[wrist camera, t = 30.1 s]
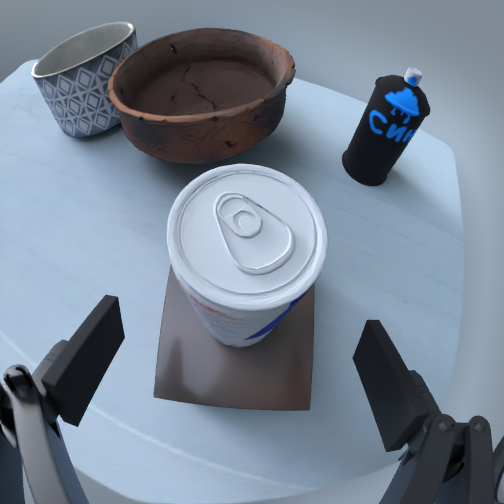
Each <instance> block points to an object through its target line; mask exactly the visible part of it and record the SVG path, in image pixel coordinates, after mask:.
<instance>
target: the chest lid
mask: <svg viewBox="0 0 504 504" xmlns="http://www.w3.org/2000/svg"><path fill="white" fill-rule="evenodd" d="M313 338H314V283H313V285H312V286H311V288H310V289H309V291H308V292H307V293H306V294H305V295H304V297H303V298H302V299H301V300H300V301H299V302H298V303H297V304H296V305H295V306H294V307H293V308H292V309H291V310H290V311H289V312H288V313H287V314H286V315H285V317H284V318H283V319H282V320H281V321H280V322H279V323H278V324H277V325H276V326H275V327H274V328H273V329H272V330H271V331H270V332H269V333H268V334H267V335H266V336H265V337H264V338H263V339H262V340H261V341H259V342H258V343H256V344H254V345H251V346H248V347H242V348H236V347H230V346H227V345H225V344H223V343H221V342H219V341H218V340H216V339H215V338H214V337H213V336H212V334H211V333H210V332H209V330H208V329H207V327H206V326H205V324H204V322H203V321H202V319H201V318H200V316H199V314H198V313H197V311H196V310H195V308H194V306H193V305H192V303H191V301H190V300H189V298H188V297H187V295H186V293H185V292H184V290H183V288H182V286H181V285H180V283H179V281H178V280H177V278H176V276H175V273H174V271H173V268H172V265H171V266H170V272H169V278H168V284H167V290H166V296H165V302H164V309H163V316H162V323H161V331H160V339H159V347H158V355H157V365H156V375H155V386H154V397H155V398H161V399H166V400H172V401H178V402H185V403H192V404H199V405H207V406H216V407H226V408H238V409H254V410H285V411H301V410H310V399H311V383H312V364H313Z"/></svg>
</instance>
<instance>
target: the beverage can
mask: <svg viewBox="0 0 504 504" xmlns="http://www.w3.org/2000/svg"><path fill="white" fill-rule="evenodd" d="M167 243H168V248H169V256H170V260H171V265H172V268H173V271H174V273H175V276H176V278H177V280H178V281H179V283H180V285H181V286H182V288H183V290H184V292H185V293H186V295H187V297H188V298H189V300H190V301H191V303H192V305H193V306H194V308H195V310H196V311H197V313H198V314H199V316H200V318H201V319H202V321H203V322H204V324H205V326H206V327H207V329H208V330H209V332H210V333H211V334H212V336H213V337H214V338H215V339H216V340H218V341H219V342H221V343H223V344H225V345H227V346H230V347H236V348H242V347H248V346H251V345H254V344H256V343H258V342H259V341H261V340H262V339H263V338H264V337H265V336H266V335H267V334H268V333H269V332H270V331H271V330H272V329H273V328H274V327H275V326H276V325H277V324H278V323H279V322H280V321H281V320H282V319H283V318H284V317H285V315H286V314H287V313H288V312H289V311H290V310H291V309H292V308H293V307H294V306H295V305H296V304H297V303H298V302H299V301H300V300H301V299H302V298H303V297H304V295H305V294H306V293H307V292H308V291H309V289H310V288H311V286H312V285H313V283H314V282H315V281H316V279H317V278H318V276H319V275H320V273H321V271H322V269H323V266H324V263H325V260H326V256H327V251H328V233H327V226H326V223H325V219H324V217H323V215H322V213H321V210H320V208H319V207H318V205H317V203H316V202H315V200H314V199H313V198H312V196H311V195H310V194H309V193H308V192H307V191H306V190H305V189H304V188H303V187H302V186H301V185H300V184H299V183H297V182H296V181H295V180H293V179H292V178H290V177H289V176H287V175H285V174H283V173H281V172H279V171H276V170H274V169H271V168H267V167H263V166H259V165H251V164H234V165H227V166H221V167H218V168H215V169H212V170H210V171H207V172H205V173H203V174H202V175H200V176H199V177H197V178H196V179H194V180H193V181H192V182H190V183H189V184H188V185H187V186H186V187H185V188H184V189H183V190H182V191H181V193H180V194H179V196H178V197H177V198H176V200H175V202H174V204H173V206H172V209H171V212H170V215H169V218H168V224H167Z"/></svg>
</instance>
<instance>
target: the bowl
mask: <svg viewBox="0 0 504 504" xmlns="http://www.w3.org/2000/svg"><path fill="white" fill-rule="evenodd" d="M171 48H172V49H173V50H172V49H171ZM294 67H295V63H294V60H293V57H292V56H291V55H290V54H289V52H288V51H287V50H286V49H285V48H283V47H281V46H279V45H276V44H275V43H273V42H271V41H269V40H267V39H265V38H262V37H259V36H256V35H253V34H250V33H247V32H243V31H238V30H230V29H220V28H199V29H193V30H187V31H182V32H178V33H173V34H170V35H167V36H164V37H161V38H158V39H156V40H154V41H152V42H149V43H147V44H145V45H143V46H141V47H140V48H138V49H136V50H134V51H133V52H132V53H131V54H129V55H128V56H127V57H126V58H125V59H124V60H123V61H122V62H121V63H120V64H119V65H118V66H117V68H116V69H115V70H114V72H113V74H112V75H111V78H110V79H109V82H108V90H109V97H110V100H111V101H112V103H113V105H114V106H115V107H116V109H117V111H118V113H119V116H120V120H121V124H122V127H123V130H124V132H125V134H126V136H127V138H128V139H129V140H130V142H131V143H132V144H133V145H134V146H135V147H136V148H138V149H139V150H141V151H143V152H145V153H146V154H148V155H150V156H153V157H156V158H158V159H161V160H165V161H170V162H175V163H186V164H208V163H213V162H218V161H222V160H225V159H227V158H231V157H234V156H236V155H238V154H241V153H244V152H245V151H247V150H249V149H251V148H252V147H253V146H255V145H256V144H258V143H259V142H261V141H262V140H263V139H265V138H266V137H267V136H269V135H270V134H271V133H272V132H273V131H274V130H275V129H276V127H277V126H278V124H279V122H280V120H281V118H282V116H283V113H284V107H285V101H286V98H285V97H286V88H287V86H288V85H289V84H291V83H292V81H293V78H294V75H295V71H296V70H295V69H294Z"/></svg>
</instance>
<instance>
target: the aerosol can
mask: <svg viewBox="0 0 504 504" xmlns="http://www.w3.org/2000/svg"><path fill="white" fill-rule="evenodd" d="M421 78H422V73H421V72H420V71H419V70H417V69H415V68H413V67H409V69H408V71H407V73H406V75H405V77H401V76H397V75H389V76H385V77H379V78H378V79H377V80H376V82H375V84H376V87H375V89H374V91H373V93H372V96H371V98H370V101H369V103H368V105H367V107H366V109H365V112H364V114H363V116H362V118H361V120H360V123H359V125H358V127H357V129H356V131H355V134H354V136H353V138H352V140H351V142H350V144H349V147H348V149H347V150H346V151H345V152H344V153H343V156H342V162H343V166H344V168H345V169H346V171H347V172H348V173H349V175H350V176H351V177H353V178H354V179H355V180H357V181H358V182H360V183H362V184H365V185H370V186H377V185H380V184H382V183H383V182H384V181H385V180H386V178H387V174H388V173H389V171H390V170H391V168H392V167H393V166H394V164H395V163H396V161H397V160H398V158H399V157H400V155H401V154H402V152H403V151H404V149H405V148H406V146H407V145H408V143H409V142H410V140H411V138H412V137H413V135H414V134H415V132H416V131H417V129H418V128H419V126H420V124H421V123H422V121H423V120H424V118H425V117H426V116H428V115H429V114H430V107H429V104H428V101H427V98H426V95H425V94H424V93H423V91H422V90H421V89H420V88H419V87H418V86H417V85H418V83H419V82H420V80H421Z"/></svg>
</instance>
